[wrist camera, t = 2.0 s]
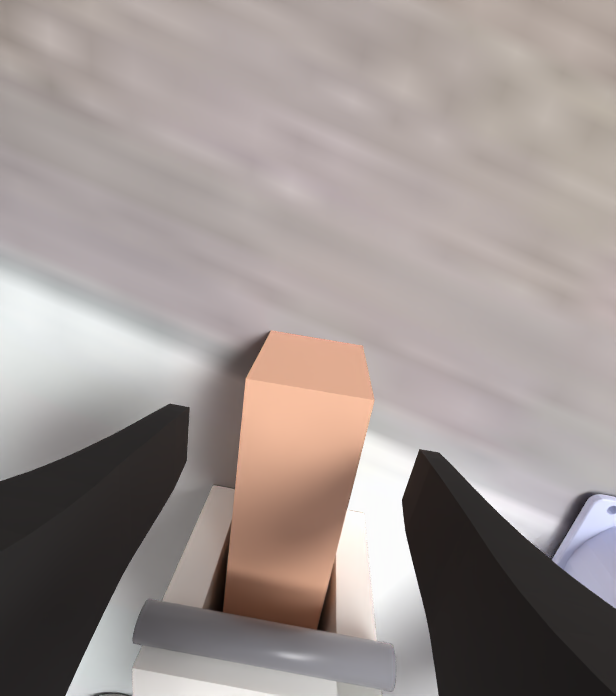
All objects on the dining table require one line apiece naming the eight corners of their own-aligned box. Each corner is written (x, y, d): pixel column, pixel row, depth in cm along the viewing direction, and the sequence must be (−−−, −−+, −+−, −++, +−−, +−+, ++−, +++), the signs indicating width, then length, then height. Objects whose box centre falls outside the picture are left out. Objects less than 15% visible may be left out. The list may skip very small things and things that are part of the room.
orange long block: (362, 343, 16) (374, 399, 11) (307, 590, 21) (300, 696, 17) (271, 328, 16) (245, 378, 11) (241, 579, 21) (216, 681, 17)
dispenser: (373, 496, 18) (400, 694, 11) (320, 667, 23) (314, 878, 16) (210, 465, 18) (125, 643, 11) (195, 643, 24) (130, 844, 16)
